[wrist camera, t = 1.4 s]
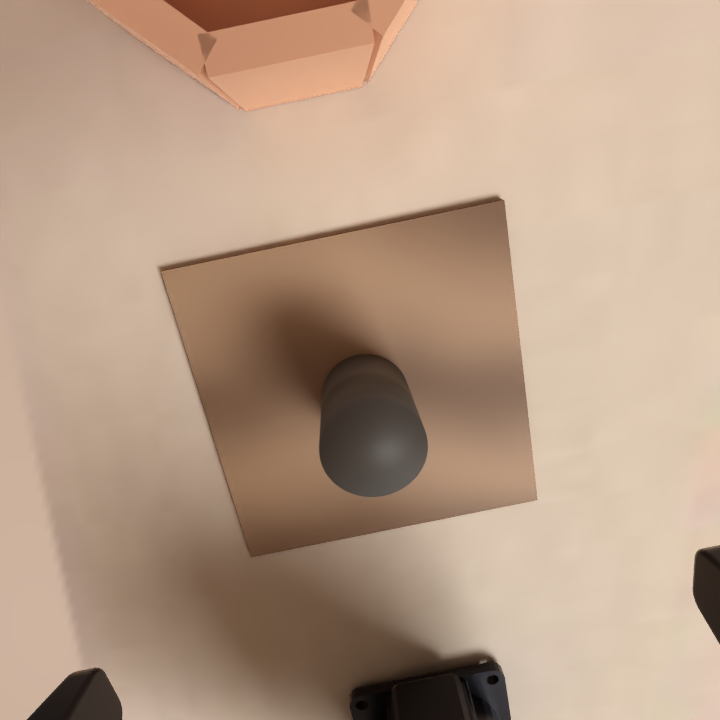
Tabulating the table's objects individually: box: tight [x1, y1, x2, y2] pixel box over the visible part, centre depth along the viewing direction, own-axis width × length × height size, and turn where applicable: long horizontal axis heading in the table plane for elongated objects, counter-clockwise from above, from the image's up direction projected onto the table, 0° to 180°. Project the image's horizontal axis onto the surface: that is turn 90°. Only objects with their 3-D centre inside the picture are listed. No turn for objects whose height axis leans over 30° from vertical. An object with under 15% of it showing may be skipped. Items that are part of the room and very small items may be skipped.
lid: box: [161, 200, 537, 557], centre depth 17 cm, size 11×11×5 cm
